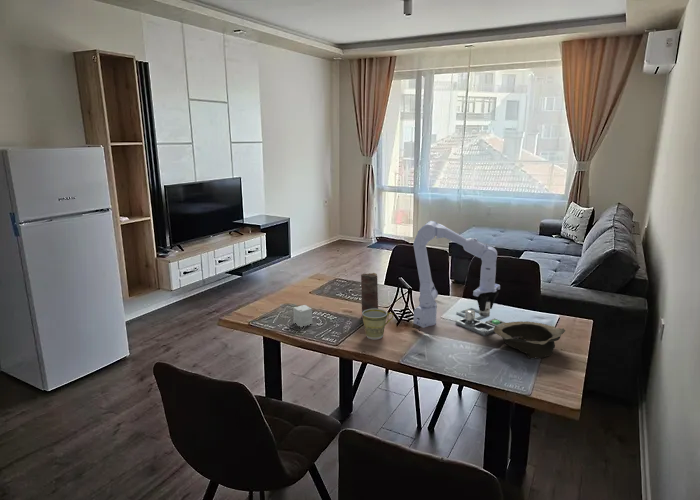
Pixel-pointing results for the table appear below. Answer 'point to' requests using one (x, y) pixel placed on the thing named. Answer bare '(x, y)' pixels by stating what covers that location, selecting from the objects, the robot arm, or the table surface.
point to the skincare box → (302, 315)
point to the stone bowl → (530, 337)
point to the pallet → (477, 326)
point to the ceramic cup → (375, 322)
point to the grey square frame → (469, 309)
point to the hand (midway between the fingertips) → (485, 309)
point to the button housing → (492, 323)
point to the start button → (496, 322)
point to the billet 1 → (469, 317)
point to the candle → (369, 291)
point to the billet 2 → (486, 310)
